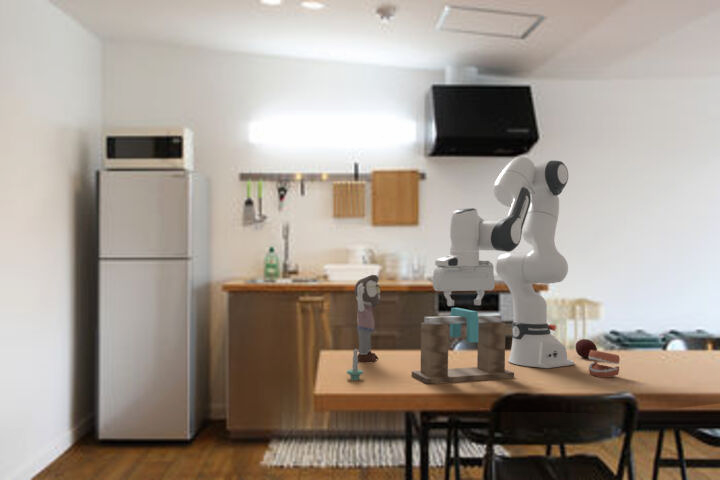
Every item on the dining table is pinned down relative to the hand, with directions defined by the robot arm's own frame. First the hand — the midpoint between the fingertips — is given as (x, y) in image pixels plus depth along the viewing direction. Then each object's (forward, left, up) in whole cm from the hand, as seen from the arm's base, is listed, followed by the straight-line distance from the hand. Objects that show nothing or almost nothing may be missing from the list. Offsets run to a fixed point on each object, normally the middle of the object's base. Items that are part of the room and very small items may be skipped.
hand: (464, 305), depth 158 cm
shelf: (0, 0, -22) cm, 22 cm away
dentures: (-44, +10, -22) cm, 50 cm away
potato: (-61, -14, -22) cm, 66 cm away
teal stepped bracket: (0, 0, -10) cm, 10 cm away
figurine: (+21, -30, -22) cm, 43 cm away
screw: (+33, -6, -22) cm, 40 cm away
